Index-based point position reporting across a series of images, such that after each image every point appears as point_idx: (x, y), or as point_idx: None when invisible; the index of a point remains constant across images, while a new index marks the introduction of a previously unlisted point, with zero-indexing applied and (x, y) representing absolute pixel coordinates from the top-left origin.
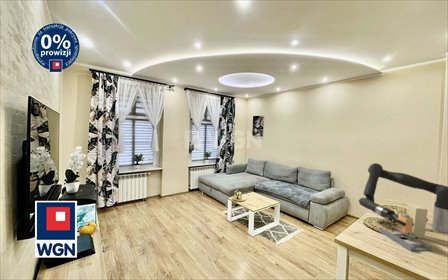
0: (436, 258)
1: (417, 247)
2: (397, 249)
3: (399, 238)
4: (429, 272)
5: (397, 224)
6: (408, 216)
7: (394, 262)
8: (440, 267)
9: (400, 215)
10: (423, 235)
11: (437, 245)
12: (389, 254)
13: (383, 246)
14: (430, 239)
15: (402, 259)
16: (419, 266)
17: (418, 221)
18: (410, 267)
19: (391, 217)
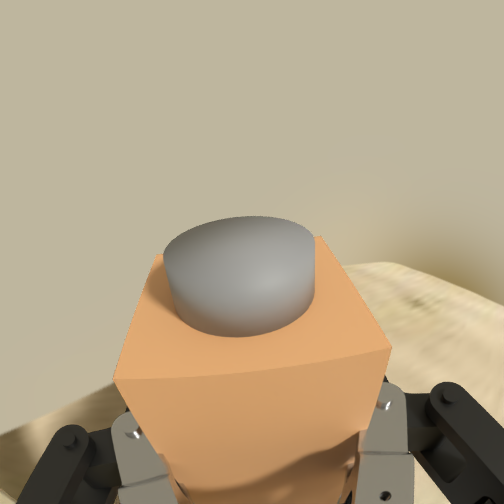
0: None
1: None
2: (416, 380)
3: None
4: (362, 271)
5: (343, 485)
6: (233, 221)
7: (465, 290)
8: None
9: (335, 336)
10: (16, 500)
11: (48, 435)
12: (473, 327)
13: (486, 385)
14: (2, 486)
15: (429, 310)
16: (379, 288)
17: None
18: (418, 279)
19: (484, 463)
